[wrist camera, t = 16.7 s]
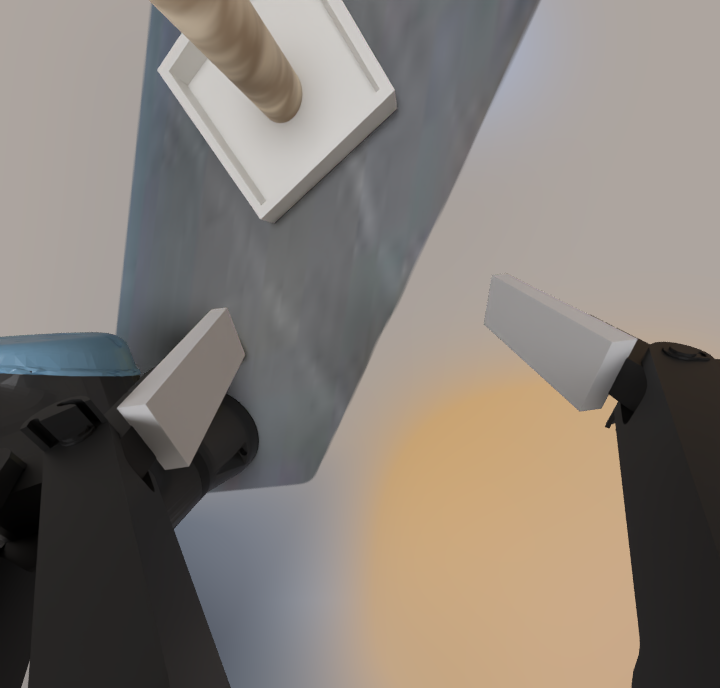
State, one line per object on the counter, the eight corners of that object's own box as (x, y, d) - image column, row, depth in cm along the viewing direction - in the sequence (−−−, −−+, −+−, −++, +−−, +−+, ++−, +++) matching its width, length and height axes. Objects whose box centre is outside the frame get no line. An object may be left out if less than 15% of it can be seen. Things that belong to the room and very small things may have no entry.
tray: (274, 223, 33) (260, 219, 30) (181, 88, 31) (157, 70, 28) (397, 108, 27) (394, 90, 24) (292, -69, 25) (276, -111, 22)
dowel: (277, 134, 29) (164, 27, 16) (250, 92, 29) (110, -53, 16) (311, 97, 28) (215, -53, 15) (283, 52, 27) (156, -146, 14)
